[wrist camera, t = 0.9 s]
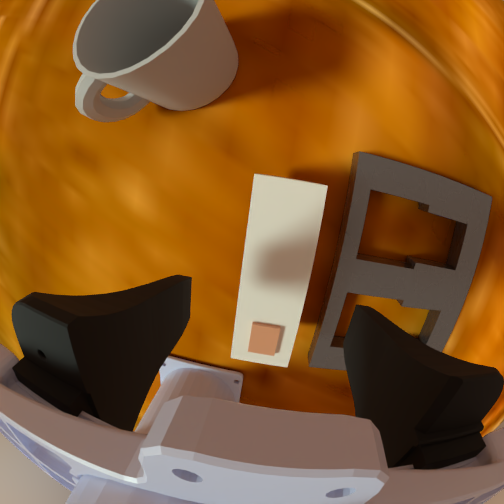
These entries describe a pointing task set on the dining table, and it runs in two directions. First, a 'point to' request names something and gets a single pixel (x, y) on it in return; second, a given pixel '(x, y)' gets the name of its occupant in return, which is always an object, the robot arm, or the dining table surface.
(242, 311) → the power strip
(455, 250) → the keyhole plate
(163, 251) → the dining table surface
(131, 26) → the cup
